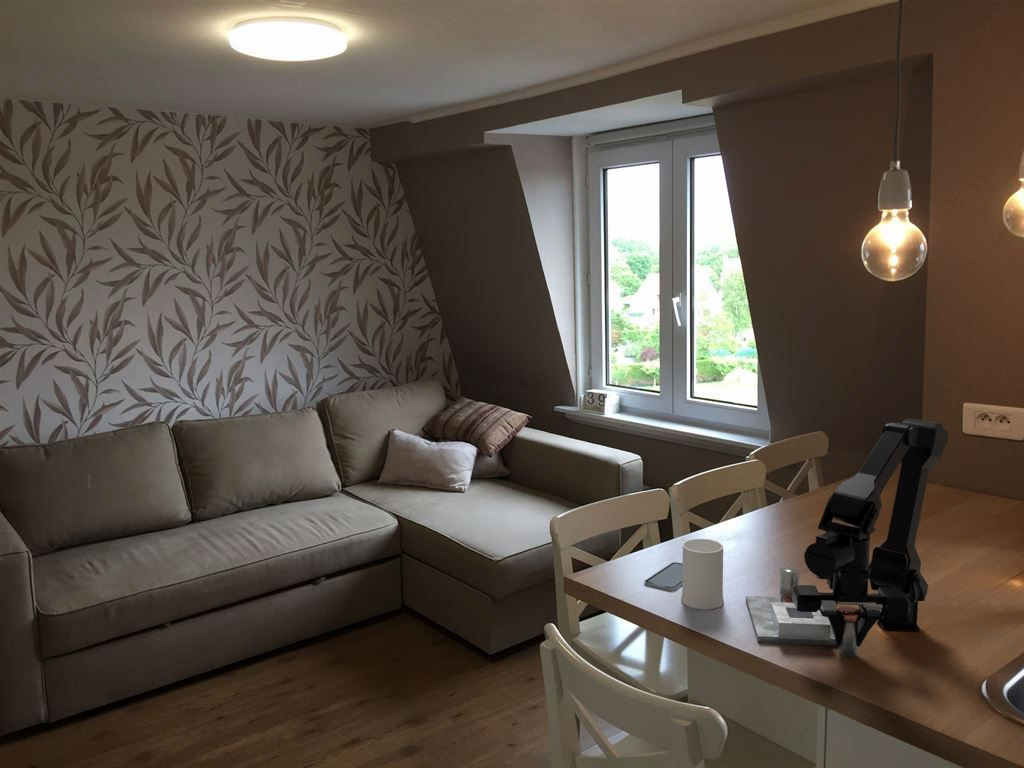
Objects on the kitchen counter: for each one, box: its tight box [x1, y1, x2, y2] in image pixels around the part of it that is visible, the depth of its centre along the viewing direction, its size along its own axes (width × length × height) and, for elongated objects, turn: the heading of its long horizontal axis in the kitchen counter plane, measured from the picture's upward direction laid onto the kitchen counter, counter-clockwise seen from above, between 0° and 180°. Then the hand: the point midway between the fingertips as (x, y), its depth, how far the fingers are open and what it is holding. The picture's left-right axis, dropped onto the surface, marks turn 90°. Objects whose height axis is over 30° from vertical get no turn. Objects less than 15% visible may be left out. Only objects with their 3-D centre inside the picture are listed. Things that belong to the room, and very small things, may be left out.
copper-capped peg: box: [837, 606, 861, 659], centre depth 149 cm, size 4×4×8 cm
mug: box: [680, 538, 725, 611], centre depth 174 cm, size 12×8×12 cm
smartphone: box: [643, 561, 683, 592], centre depth 186 cm, size 7×1×15 cm
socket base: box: [745, 566, 837, 646], centre depth 162 cm, size 16×18×8 cm
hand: (847, 645), depth 150 cm, fingers closed on copper-capped peg, 3 cm apart
